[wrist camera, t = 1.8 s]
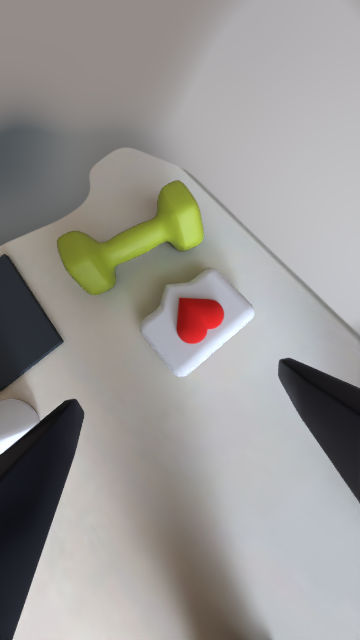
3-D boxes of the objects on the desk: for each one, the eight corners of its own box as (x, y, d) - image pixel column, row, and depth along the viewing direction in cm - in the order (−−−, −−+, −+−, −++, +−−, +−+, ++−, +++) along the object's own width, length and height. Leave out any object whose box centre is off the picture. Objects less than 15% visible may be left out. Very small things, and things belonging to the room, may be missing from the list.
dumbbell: (100, 307, 25) (63, 287, 18) (81, 261, 27) (41, 225, 20) (207, 254, 25) (213, 214, 18) (182, 212, 27) (178, 161, 20)
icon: (203, 243, 21) (268, 306, 19) (202, 262, 25) (254, 316, 23) (119, 310, 20) (177, 385, 18) (132, 319, 24) (180, 380, 22)
